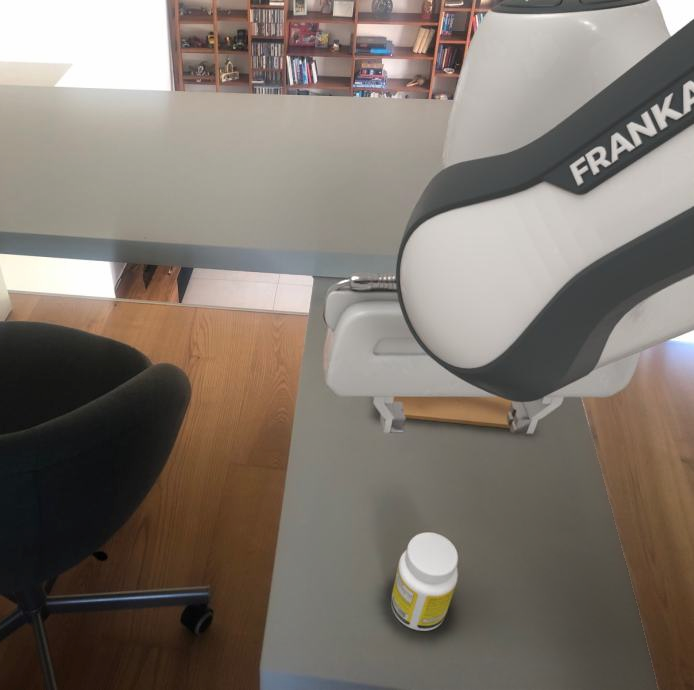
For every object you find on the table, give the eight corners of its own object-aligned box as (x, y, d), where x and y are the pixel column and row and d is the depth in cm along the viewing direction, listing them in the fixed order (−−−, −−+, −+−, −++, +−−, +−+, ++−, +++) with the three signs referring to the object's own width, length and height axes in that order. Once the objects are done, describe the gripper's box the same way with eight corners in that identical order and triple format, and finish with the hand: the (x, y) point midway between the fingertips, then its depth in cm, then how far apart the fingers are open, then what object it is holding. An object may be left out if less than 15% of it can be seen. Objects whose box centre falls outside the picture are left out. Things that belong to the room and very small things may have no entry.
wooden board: (527, 430, 76) (528, 426, 76) (380, 415, 79) (381, 411, 78) (507, 337, 88) (509, 334, 88) (380, 327, 91) (381, 323, 90)
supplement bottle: (450, 594, 62) (469, 540, 56) (439, 641, 59) (457, 589, 53) (397, 574, 63) (410, 520, 58) (383, 619, 60) (396, 566, 55)
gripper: (329, 304, 41) (317, 458, 50) (686, 304, 40) (608, 460, 49) (322, 246, 45) (312, 396, 54) (640, 245, 45) (577, 397, 54)
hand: (454, 427), depth 52 cm, fingers open, 8 cm apart
